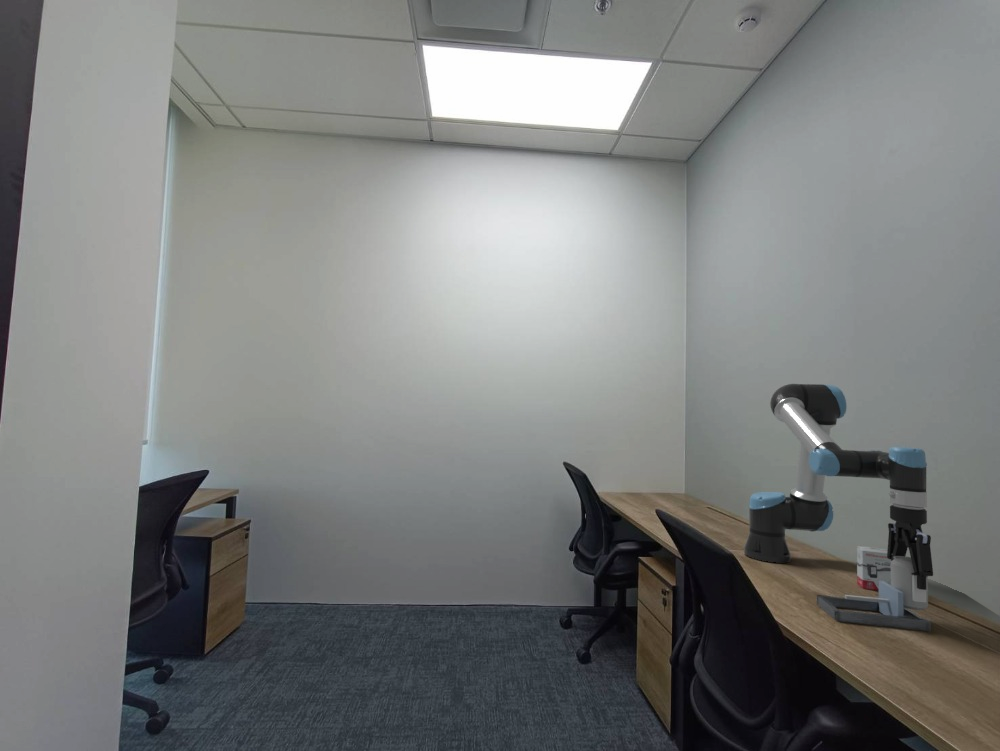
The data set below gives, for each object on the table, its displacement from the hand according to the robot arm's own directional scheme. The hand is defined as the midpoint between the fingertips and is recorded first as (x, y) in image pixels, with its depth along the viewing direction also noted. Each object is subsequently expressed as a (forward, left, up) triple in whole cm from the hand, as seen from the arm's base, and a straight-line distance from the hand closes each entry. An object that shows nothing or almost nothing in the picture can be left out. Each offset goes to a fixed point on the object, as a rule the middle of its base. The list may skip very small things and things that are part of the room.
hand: (909, 595), depth 129 cm
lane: (0, -9, -6) cm, 11 cm away
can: (0, 0, -3) cm, 3 cm away
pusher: (0, -9, -6) cm, 11 cm away
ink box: (-26, +5, -7) cm, 27 cm away
